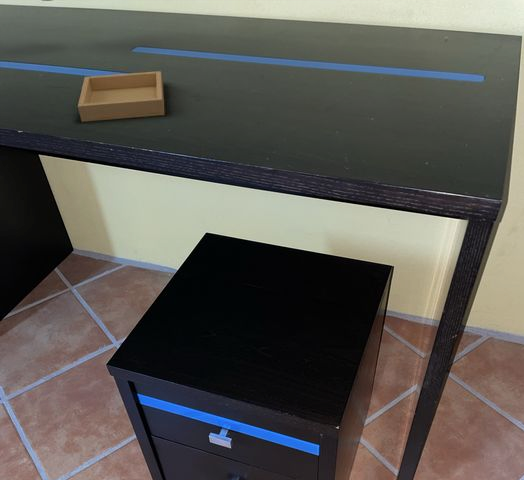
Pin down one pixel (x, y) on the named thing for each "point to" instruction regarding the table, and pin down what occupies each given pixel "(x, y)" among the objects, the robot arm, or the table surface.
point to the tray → (121, 96)
